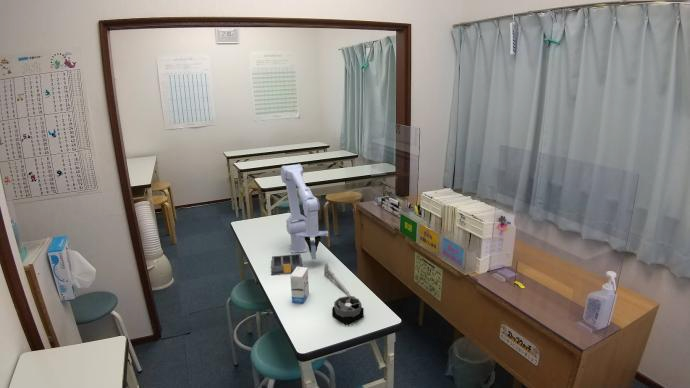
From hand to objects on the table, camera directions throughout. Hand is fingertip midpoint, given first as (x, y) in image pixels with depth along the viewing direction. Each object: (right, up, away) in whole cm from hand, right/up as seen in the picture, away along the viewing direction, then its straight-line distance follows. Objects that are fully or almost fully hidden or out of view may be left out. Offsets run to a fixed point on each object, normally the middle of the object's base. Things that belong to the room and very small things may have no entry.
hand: (312, 251), depth 186 cm
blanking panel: (0, -2, +1) cm, 2 cm away
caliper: (+11, -13, -17) cm, 24 cm away
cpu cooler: (+16, -19, -38) cm, 46 cm away
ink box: (-3, -15, -26) cm, 30 cm away
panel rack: (-12, -7, 0) cm, 14 cm away
